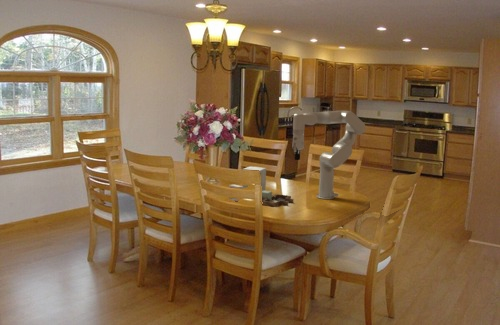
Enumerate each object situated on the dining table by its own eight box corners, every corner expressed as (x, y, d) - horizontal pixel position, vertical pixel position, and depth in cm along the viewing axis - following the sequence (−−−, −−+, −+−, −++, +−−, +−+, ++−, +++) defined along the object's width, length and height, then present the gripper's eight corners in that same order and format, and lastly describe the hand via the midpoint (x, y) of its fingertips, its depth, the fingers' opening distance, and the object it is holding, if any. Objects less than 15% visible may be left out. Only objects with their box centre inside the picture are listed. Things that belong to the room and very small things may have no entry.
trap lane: (297, 200, 329) (298, 193, 329) (282, 207, 308) (283, 200, 308) (266, 196, 340) (267, 189, 339) (250, 202, 319) (250, 195, 318)
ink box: (243, 204, 315) (243, 186, 313) (237, 205, 312) (238, 187, 310) (233, 201, 321) (234, 183, 319) (228, 202, 317) (228, 184, 316)
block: (271, 200, 329) (271, 191, 328) (267, 202, 323) (267, 193, 322) (263, 199, 331) (263, 190, 330) (259, 200, 326) (259, 191, 325)
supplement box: (248, 189, 359) (249, 166, 356) (265, 191, 354) (266, 167, 351) (241, 193, 347) (242, 168, 344) (258, 195, 342) (259, 170, 339)
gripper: (299, 133, 318) (298, 161, 321) (308, 132, 331) (306, 159, 334) (288, 132, 322) (287, 160, 324) (297, 131, 335) (296, 157, 337)
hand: (297, 159), depth 329 cm, fingers closed
